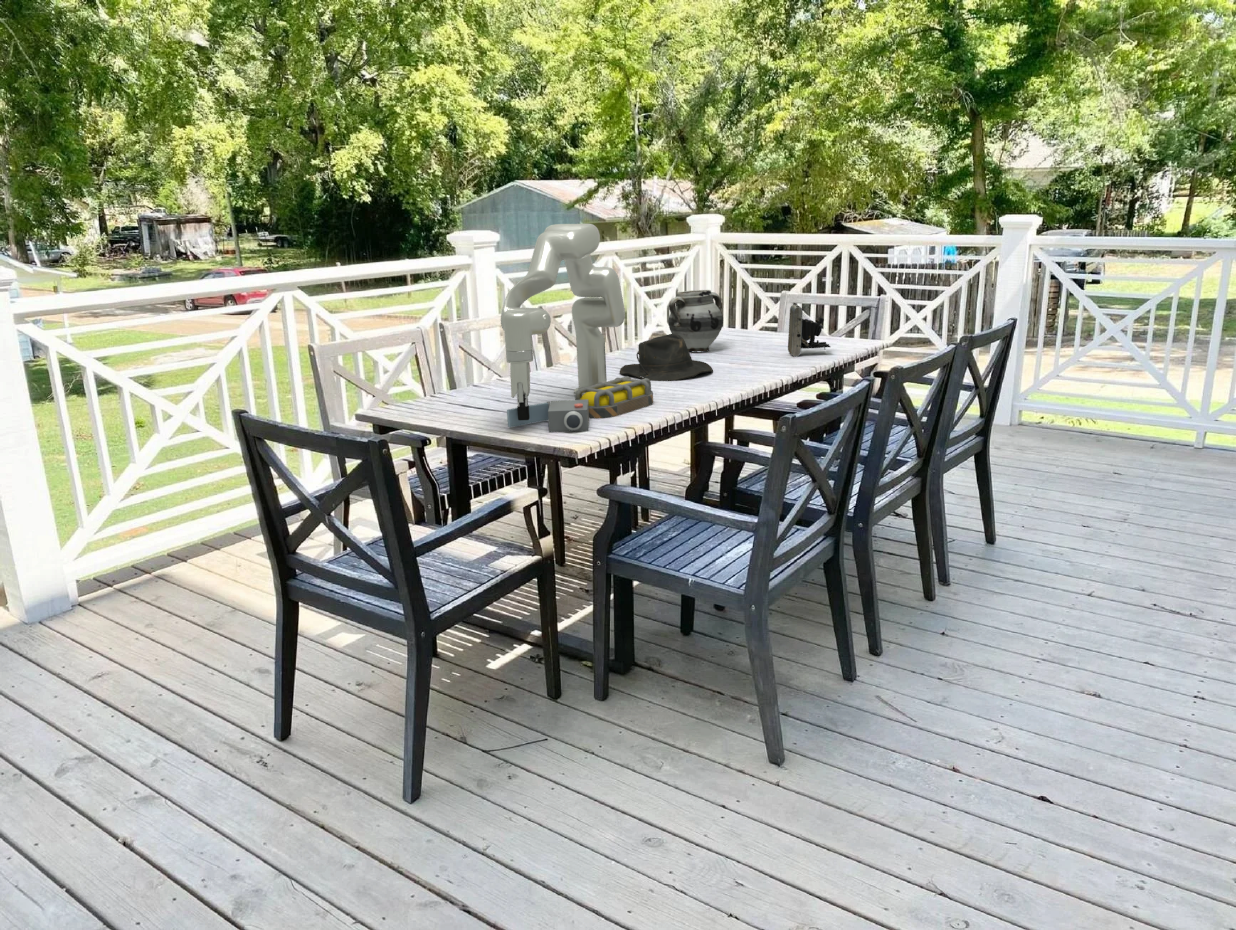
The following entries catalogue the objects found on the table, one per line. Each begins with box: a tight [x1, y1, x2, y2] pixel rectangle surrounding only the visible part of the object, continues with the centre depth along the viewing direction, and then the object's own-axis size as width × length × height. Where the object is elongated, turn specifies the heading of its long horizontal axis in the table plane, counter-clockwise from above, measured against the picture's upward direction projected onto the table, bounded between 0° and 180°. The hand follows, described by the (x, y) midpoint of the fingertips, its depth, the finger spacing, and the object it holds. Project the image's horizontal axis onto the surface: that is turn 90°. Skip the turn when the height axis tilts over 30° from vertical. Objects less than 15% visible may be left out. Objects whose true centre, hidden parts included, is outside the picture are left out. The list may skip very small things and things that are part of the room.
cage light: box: [574, 375, 654, 420], centre depth 287 cm, size 15×8×30 cm
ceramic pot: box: [667, 289, 724, 352], centre depth 384 cm, size 29×23×25 cm
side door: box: [506, 401, 551, 428], centre depth 270 cm, size 14×1×5 cm, turn 126°
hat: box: [619, 333, 714, 382], centre depth 341 cm, size 32×35×14 cm
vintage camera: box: [787, 303, 831, 357], centre depth 366 cm, size 10×16×20 cm, turn 89°
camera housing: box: [547, 399, 590, 433], centre depth 266 cm, size 16×11×7 cm
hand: (523, 419), depth 266 cm, fingers closed
